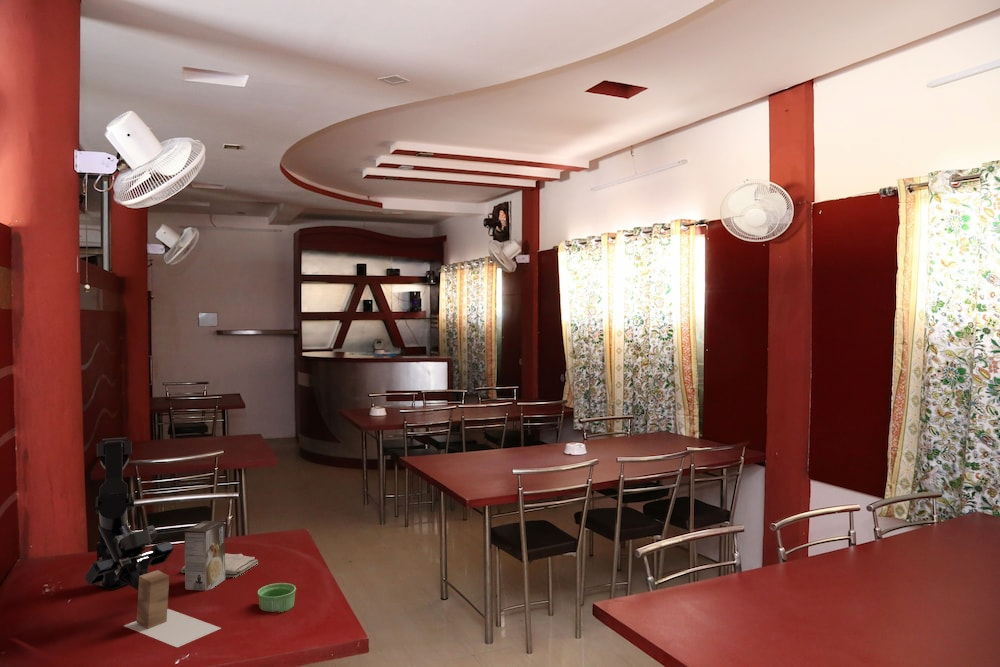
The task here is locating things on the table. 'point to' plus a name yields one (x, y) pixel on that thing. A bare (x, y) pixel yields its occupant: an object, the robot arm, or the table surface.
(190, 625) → the mat
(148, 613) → the walnut block
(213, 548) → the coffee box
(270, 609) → the ramekin
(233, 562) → the washcloth
